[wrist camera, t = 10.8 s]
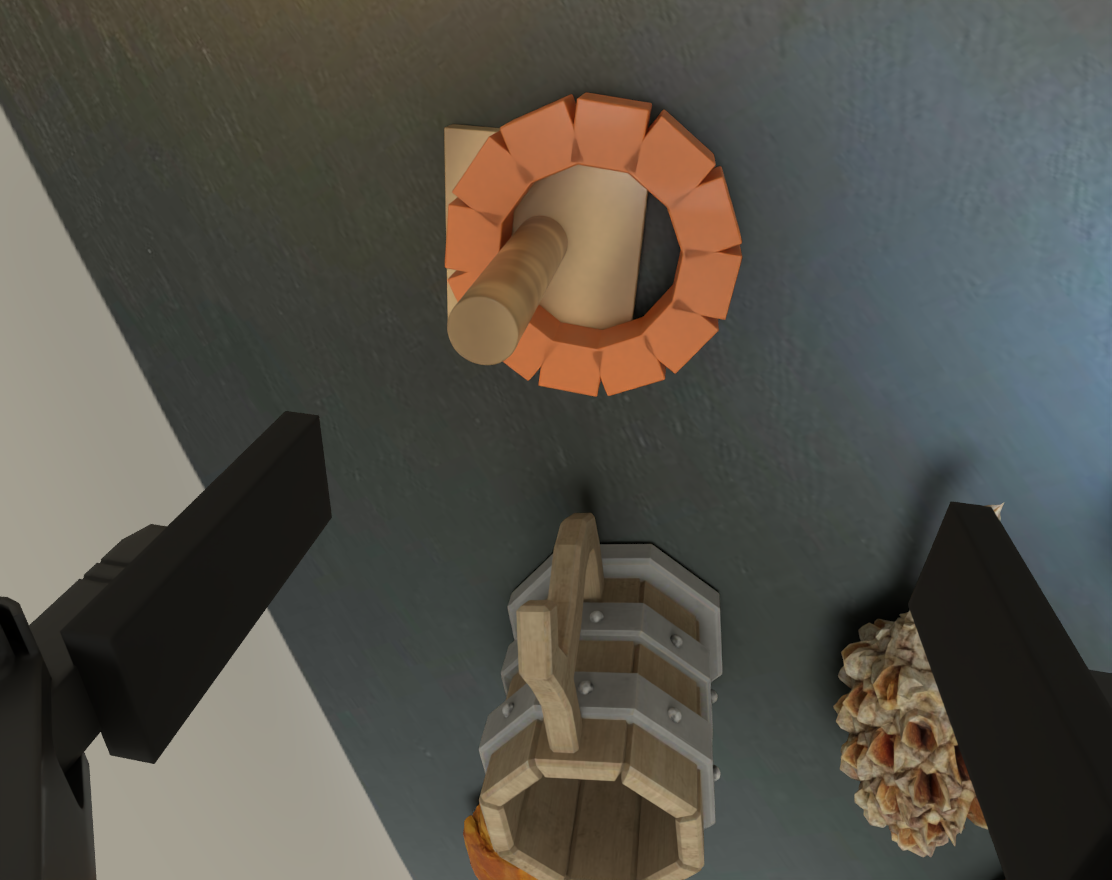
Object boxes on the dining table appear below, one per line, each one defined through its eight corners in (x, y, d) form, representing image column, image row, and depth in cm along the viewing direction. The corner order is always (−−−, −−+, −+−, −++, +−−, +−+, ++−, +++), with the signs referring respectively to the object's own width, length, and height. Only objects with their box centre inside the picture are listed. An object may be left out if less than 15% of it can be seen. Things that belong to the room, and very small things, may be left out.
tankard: (723, 696, 47) (735, 948, 34) (534, 690, 50) (479, 923, 37) (712, 426, 38) (722, 637, 25) (479, 436, 40) (379, 632, 27)
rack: (654, 141, 31) (635, 203, 21) (631, 335, 36) (606, 466, 26) (451, 123, 32) (337, 175, 22) (454, 315, 37) (361, 433, 26)
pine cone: (984, 739, 46) (1051, 904, 37) (822, 737, 48) (851, 893, 39) (1026, 433, 35) (1133, 565, 27) (817, 449, 37) (855, 576, 29)
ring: (770, 122, 29) (776, 130, 27) (698, 394, 36) (699, 417, 34) (470, 73, 30) (454, 77, 28) (453, 347, 36) (438, 366, 34)
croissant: (648, 735, 53) (643, 828, 46) (670, 887, 59) (669, 992, 51) (461, 737, 56) (429, 825, 49) (499, 881, 62) (474, 980, 54)
